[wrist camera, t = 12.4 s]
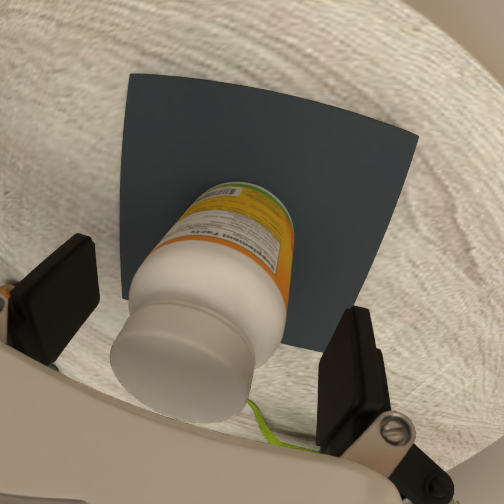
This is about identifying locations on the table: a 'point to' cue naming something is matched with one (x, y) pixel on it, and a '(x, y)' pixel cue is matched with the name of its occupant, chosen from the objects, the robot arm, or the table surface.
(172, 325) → the supplement bottle
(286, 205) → the mat
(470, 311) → the table surface
